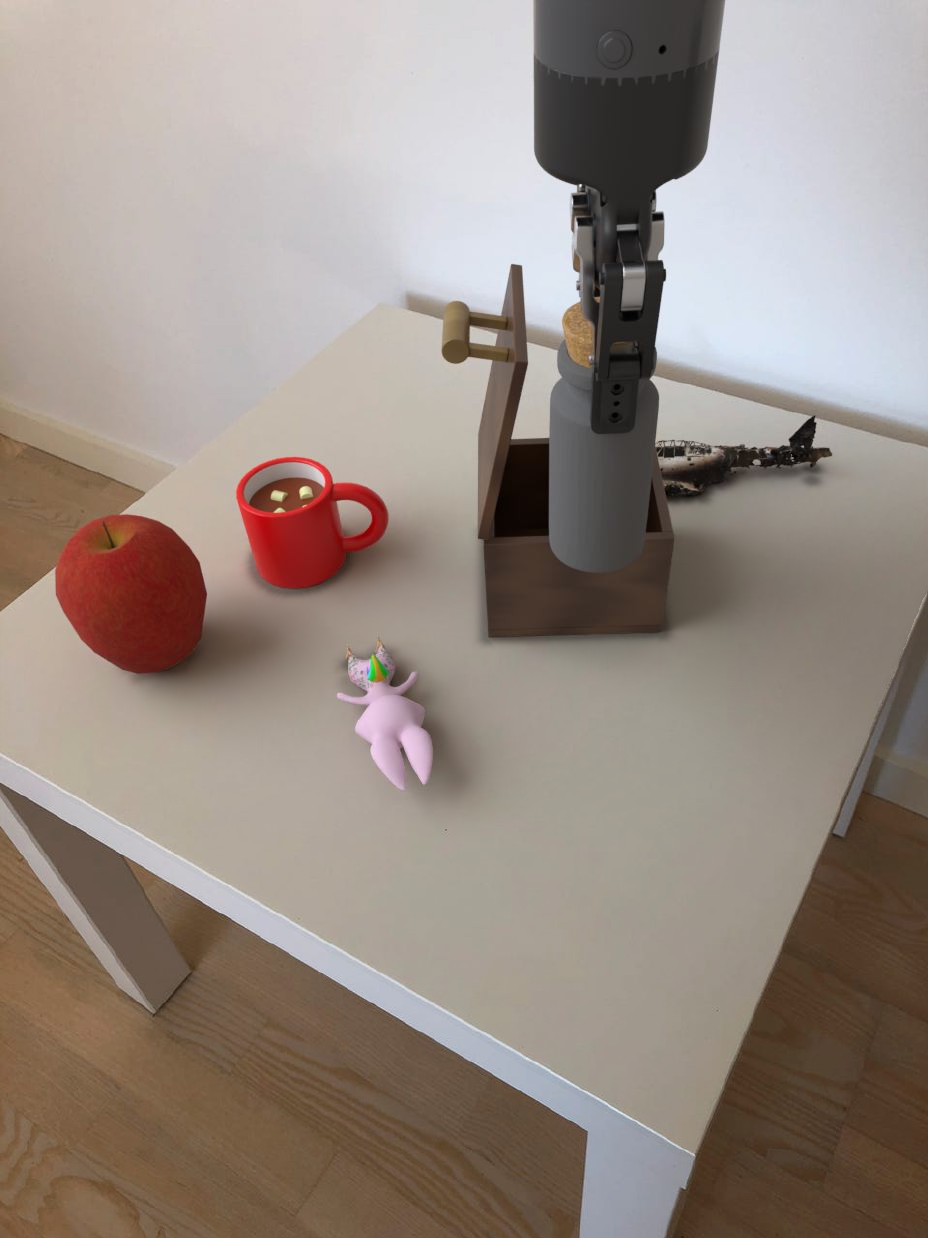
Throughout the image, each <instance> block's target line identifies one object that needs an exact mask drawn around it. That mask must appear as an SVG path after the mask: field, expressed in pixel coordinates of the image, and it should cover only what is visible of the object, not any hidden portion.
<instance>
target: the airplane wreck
mask: <svg viewBox="0 0 928 1238" xmlns="http://www.w3.org/2000/svg"><path fill="white" fill-rule="evenodd" d="M815 420H816V414H814V415H813V416H811V417H810V418H808V419H807V420H806V421H805V422H804V423H803V424H801V426H800V427H799V428H798V429H797V430H796V431H795V432H794V433H793V434H792V435H791V436H790V437H789V438H788V439H787V440H788V442H789V445H785V444H782V445H781V446H779V447H777V446H775V447H774V446H765V447H759V448H758V447H756V446H752V447H746V444H744V443H740V444H739V445H712V444H706V443H703V442H702V443H701V442H698V441H694V440H692V441H691V440H685V439H681V440H677V442H678V443H679V442H680V445H676V439H669V440H657V441H655V447H656V451H657V456H658V461H659V466H660V470H661V475H662V480H663V485H664V490H665V494H666V495H668V496H674V497H677V496H686V497H687V496H698V495H699V496H702V495H701V493H702V494H703V493H704V492H705V491H706V490H707V489H706V486H708V485H709V484H715V483H716V482H717V483H721V482H723V481H724V480H725V478H726V477H725V476H726V474H727V472H728V473H729V475H732V472H733V473H734V474H736V473H737V472H738V470H734V471H733V470H732V469H733V468H734V469H735V468H742V469H745V468H746V469H751V467H756V468H758V467H760V468H763V470H767V468H771V467H774V466H775V469H781V468H782V467H781V466H783V467H790V469H791V468H793V467H794V466H796V465H800V464H805V463H809V467H810V469H812V468H814V467H815V466H817V463H818V461H819V460H820V459H822V458H830V457H833V452H831V449H830V447H825V446H823V447H814V446H813V444H814V439H815V438H816V436H815V434H816V433H817V430H816V429H817V421H815ZM667 442H670V444H669V445H666V444H665V443H667ZM662 444H663V445H662ZM672 444H673V445H672ZM683 444H684V445H683ZM692 444H693V445H692ZM757 460H758V461H759V462H760V464H755V463H754V461H757Z"/></svg>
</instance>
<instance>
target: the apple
mask: <svg viewBox="0 0 928 1238" xmlns="http://www.w3.org/2000/svg"><path fill="white" fill-rule="evenodd" d="M54 575H55V577H54V578H55V579H54V580H55V597H56V599H57V601H58V603H59V605H60V608H61V610H62V612H63V613H64V615H65V617H66V618H67V620H68V622H69V623H70V624H71V626H72V628H73V630H74V631H75V632H76V634H77V636H78V637H79V639H80V641H82V642H83V643H84V644H85V645H86V646H87V647H88V648H89V650H91V651H92V652H93V653H94V654H96V655H98V656H99V657H101V658H103V659H104V660H105V661H107V662H109V663H110V664H112V665H114V666H115V667H117V668H118V669H120V670H122V671H126V672H128V673H129V672H130V673H133V674H137V675H143V674H154V673H160V672H163V671H165V670H167V669H171V668H173V667H174V666H176V665H177V664H179V663H180V662H182V661H183V660H184V659H186V658H187V657H189V656H190V655H191V654H193V652H194V651H195V649H196V648H197V646H198V645H199V644H200V641H201V640H202V635H203V627H204V619H205V613H206V607H207V604H206V603H207V597H208V592H207V588H206V583H205V578H204V575H203V570H202V565H201V562H200V561H199V559H198V558H197V556H196V554H195V553H194V552H193V550H192V548H191V547H190V546H189V545H188V544H187V542H185V540H183V539H182V537H181V536H180V535H179V534H178V533H177V532H176V531H175V530H174V529H173V528H171V527H170V526H168V525H166V524H164V523H163V522H161V521H160V520H157V519H153V518H151V517H150V518H149V517H146V516H143V515H135V514H127V513H126V514H110V515H106V516H103V517H100V518H95V519H93V520H91V521H90V522H88V523H87V524H85V525H83V526H82V527H80V528H79V529H78V530H77V531H76V532H75V534H73V535H72V536H71V538H69V540H68V541H67V543H66V544H65V547H64V548H63V550H61V553H60V555H59V558H58V561H57V563H56V566H55V570H54Z"/></svg>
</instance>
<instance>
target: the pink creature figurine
mask: <svg viewBox="0 0 928 1238" xmlns="http://www.w3.org/2000/svg"><path fill="white" fill-rule="evenodd" d="M376 636H377V644H376V648H375V650H374V653H375V654H374V653H372V654H371V656H370V658H369V659H361V658H359V657H358V656H357V655H356V654H354V653H353V652H352V651H351V648H350V646H349V644H348V643H346V648H347V649H346V655H345V661H347V662H348V663H347V673H348V677H349V680H350V681H351V683H353V684H354V685H355V686H356V687H358V688H360V689H362V690H364V691H365V692H367V693H366V694H365V695H364V696H352V695H348V694H346V693H345V692H343V691H342V692H341V691H340V692H338V693H336V699H338V700H339V701H342V702H345V703H349V704H353V705H358V706H367V707H366V709H365V710H364V711H363V713H362V714H361V716H360V717H359V718H358V720H357V722H356V724H355V727H354V731H355V733H356V734H357V735H358V737H359V736H360V738H361V739H364V740H365V741H366V742H367V743H369V744H370V751H369V752H370V756H371V758H372V759H373V761H374V763H375V764H376V766H377V767H378V768H379V769H380V771H381V772H382V773H383V774H384V776H386V778H387V779H388V780H389V781H390V782H391V783H392V784H393V785H394V786H395V787H396V788H398V789H399V790H400V791H401V792H406V791H407V790H408V785H407V775H406V774H407V773H406V766H405V761H404V758H403V755H402V752H401V749H403V750H404V752H405V755H406V757H407V759H408V761H409V764H410V765H411V767H412V770H413V771H414V773H415V774H416V775H417V777H418V778H419V780H420V782H421V784H422V785H424V786H425V785H426V786H427V784H428V783H429V781H430V780H431V779H430V778H431V774H432V769H433V761H434V747H433V740H432V737H431V735H430V733H429V732H428V731H427V730H426V729H424V728H422V726H423V724H424V718H425V716H426V710H425V707H423V706H422V705H421V704H419V703H417V702H416V701H413V700H412V699H409V698H408V697H405V696H402V695H403V694H405V692H406V691H408V690H409V689H410V688H411V687H412V686H413V684H414V683H415V681H417V680H418V677H419V672H418V671H417V670H413V671H412V672H411V673H410V675H409V677H408V679H407V680H406V681H405V682H403V683H402V684H400V685H398V686H392V685H390V684H391V681H392V680H393V678H394V675H395V672H396V664H395V660H394V658H393V657H392V656H391V654H390V653H389V651H388V650H387V648H386V646H385V645H384V643H383V642H382V641H381V639H380V636H379V635H378V634H377V635H376Z"/></svg>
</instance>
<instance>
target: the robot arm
mask: <svg viewBox="0 0 928 1238" xmlns="http://www.w3.org/2000/svg"><path fill="white" fill-rule="evenodd" d="M532 1H533V2H532V5H533V6H532V7H533V9H532V10H533V13H532V16H533V17H532V19H533V20H532V21H533V26H532V27H533V30H532V31H533V152H534V157H535V160H536V162H537V163H538V165H539V166H540V167H541V168H542V170H543V171H544V172H546V173H547V174H548V175H549V176H551V177H553V178H555V179H557V180H559V181H561V182H564V183H566V184H569V185H573V186H576V192H570V196H569V218H570V231H571V233H572V237H571V259H572V269H573V271H575V272H576V273H578V280H576V281H575V286H576V287H575V290H576V291H578V297H579V298H580V301H579V302H580V310H581V314H582V316H583V317H584V318H585V319H586V320H587V321H589V322H590V323H591V354H589V365H591V366H592V384H591V406H590V423H591V429H592V431H593V432H594V433H596V434H617V433H628V432H630V431H631V430H632V429H633V428H634V426H635V417H636V406H637V394H638V383H639V379H650V380H651V378H652V377H651V371H653V369H654V361H653V357H654V349H655V347H656V341H657V334H658V327H659V320H660V313H661V312H660V311H661V304H662V298H663V290H664V283H665V282H666V281H667V269H666V268H665V265H664V260H663V259H659V254H660V253H661V252H662V251H663V248H664V246H665V213H664V211H663V210H659V211H657V190H658V189H659V188H660V187H662V186H664V185H665V184H667V183H669V182H670V181H672V180H675V181H677V180H679V179H681V178H683V177H685V176H687V175H688V174H690V173H692V171H694V170H695V169H696V168H697V167H698V166H700V164H701V163H702V161H703V160H704V158H705V156H706V154H707V151H708V146H709V139H710V138H709V137H710V129H711V121H712V114H713V113H712V112H713V105H714V97H715V90H716V89H715V88H716V81H717V73H718V64H719V56H720V55H719V54H720V46H721V39H722V32H723V23H724V17H725V16H724V15H725V6H726V0H532ZM594 297H600V302H597V301H596V299H595V298H594ZM631 341H632V344H627V345H612V344H614V343H616V342H631ZM650 377H651V378H650Z"/></svg>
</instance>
